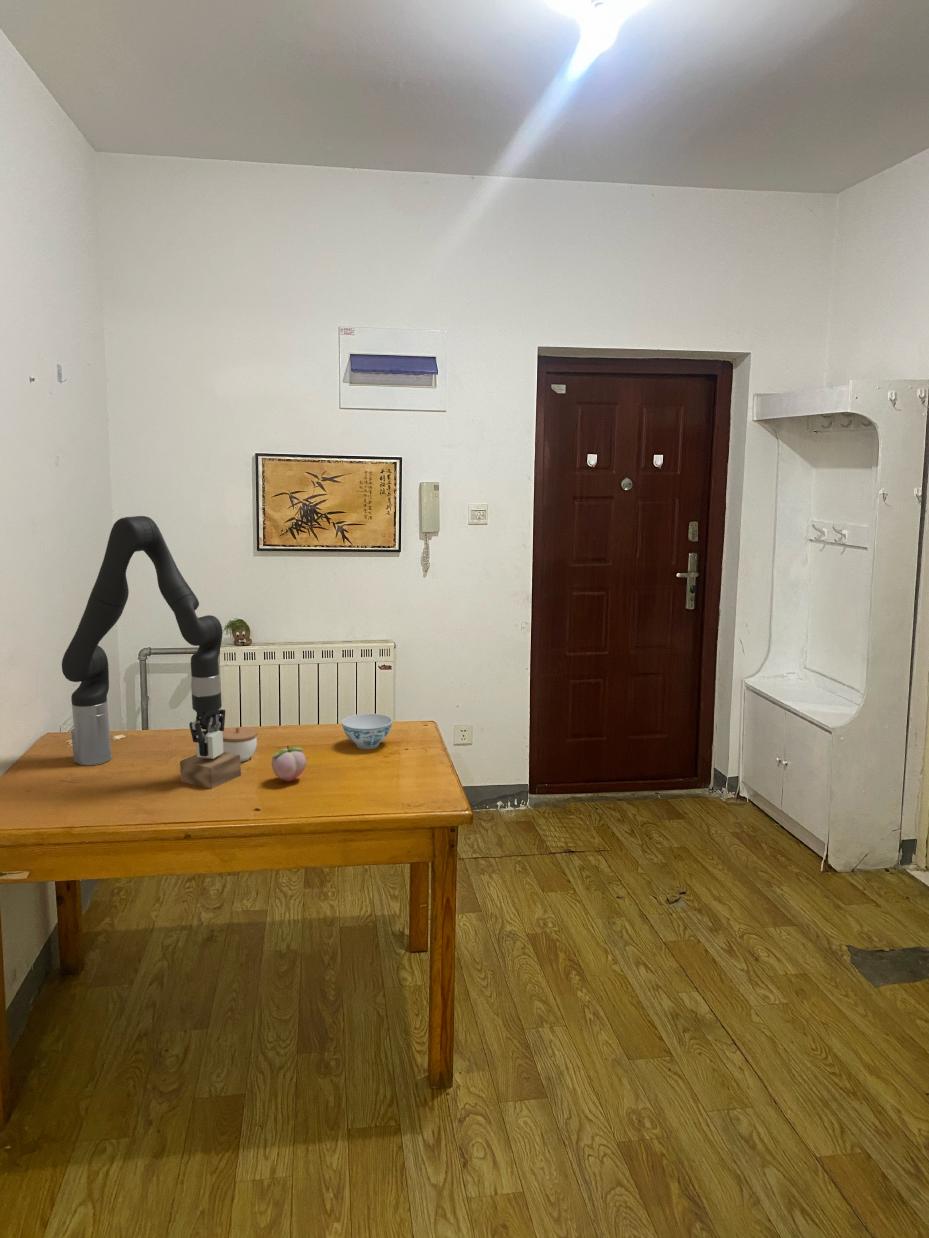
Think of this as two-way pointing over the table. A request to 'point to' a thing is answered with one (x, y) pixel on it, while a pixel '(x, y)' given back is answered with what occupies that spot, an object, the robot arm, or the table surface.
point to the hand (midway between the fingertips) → (209, 752)
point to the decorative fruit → (288, 763)
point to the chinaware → (367, 729)
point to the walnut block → (210, 770)
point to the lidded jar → (240, 742)
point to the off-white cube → (213, 744)
